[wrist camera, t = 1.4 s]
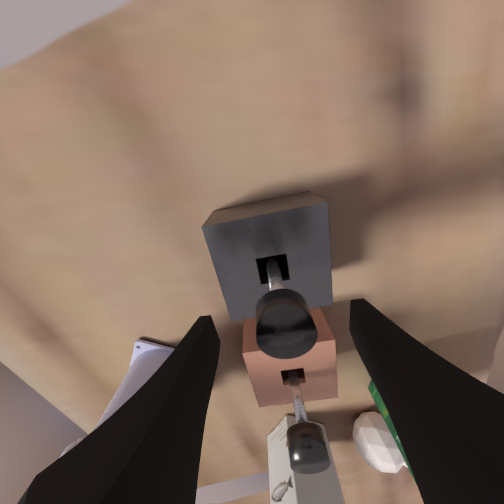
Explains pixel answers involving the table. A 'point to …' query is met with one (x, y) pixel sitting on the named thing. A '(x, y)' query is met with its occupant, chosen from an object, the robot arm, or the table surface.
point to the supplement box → (295, 484)
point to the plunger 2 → (305, 436)
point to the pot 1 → (271, 250)
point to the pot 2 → (292, 367)
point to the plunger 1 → (283, 319)
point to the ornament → (377, 443)
